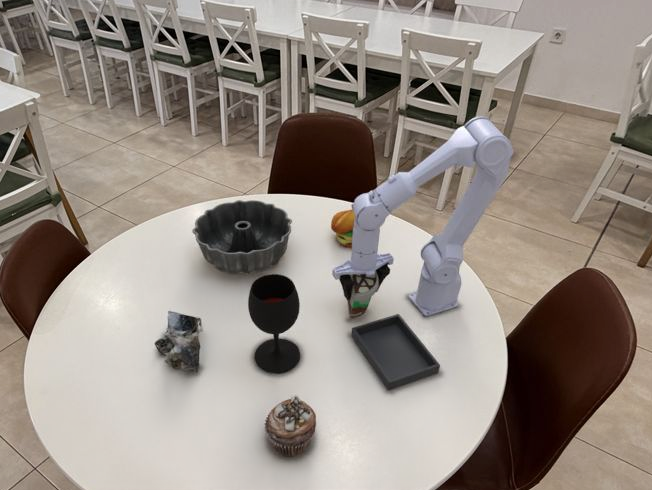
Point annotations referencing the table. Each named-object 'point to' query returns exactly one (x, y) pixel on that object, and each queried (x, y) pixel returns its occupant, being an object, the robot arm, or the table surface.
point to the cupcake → (290, 426)
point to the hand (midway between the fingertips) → (360, 293)
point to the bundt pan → (243, 235)
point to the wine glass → (274, 321)
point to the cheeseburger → (343, 227)
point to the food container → (361, 293)
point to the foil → (181, 341)
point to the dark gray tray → (394, 351)
